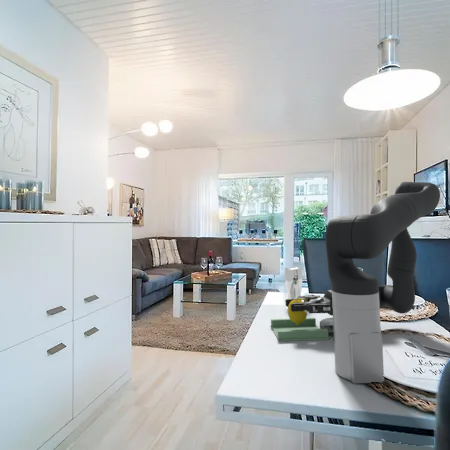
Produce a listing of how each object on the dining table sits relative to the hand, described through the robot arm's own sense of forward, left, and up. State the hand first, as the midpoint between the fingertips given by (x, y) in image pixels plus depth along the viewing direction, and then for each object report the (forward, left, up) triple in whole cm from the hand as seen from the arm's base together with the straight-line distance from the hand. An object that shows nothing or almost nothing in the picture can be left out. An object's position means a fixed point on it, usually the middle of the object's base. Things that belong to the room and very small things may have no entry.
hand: (288, 305), depth 91 cm
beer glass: (+33, -9, -8) cm, 35 cm away
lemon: (0, -3, -6) cm, 7 cm away
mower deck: (0, -16, -8) cm, 18 cm away
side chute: (0, -2, -8) cm, 9 cm away
